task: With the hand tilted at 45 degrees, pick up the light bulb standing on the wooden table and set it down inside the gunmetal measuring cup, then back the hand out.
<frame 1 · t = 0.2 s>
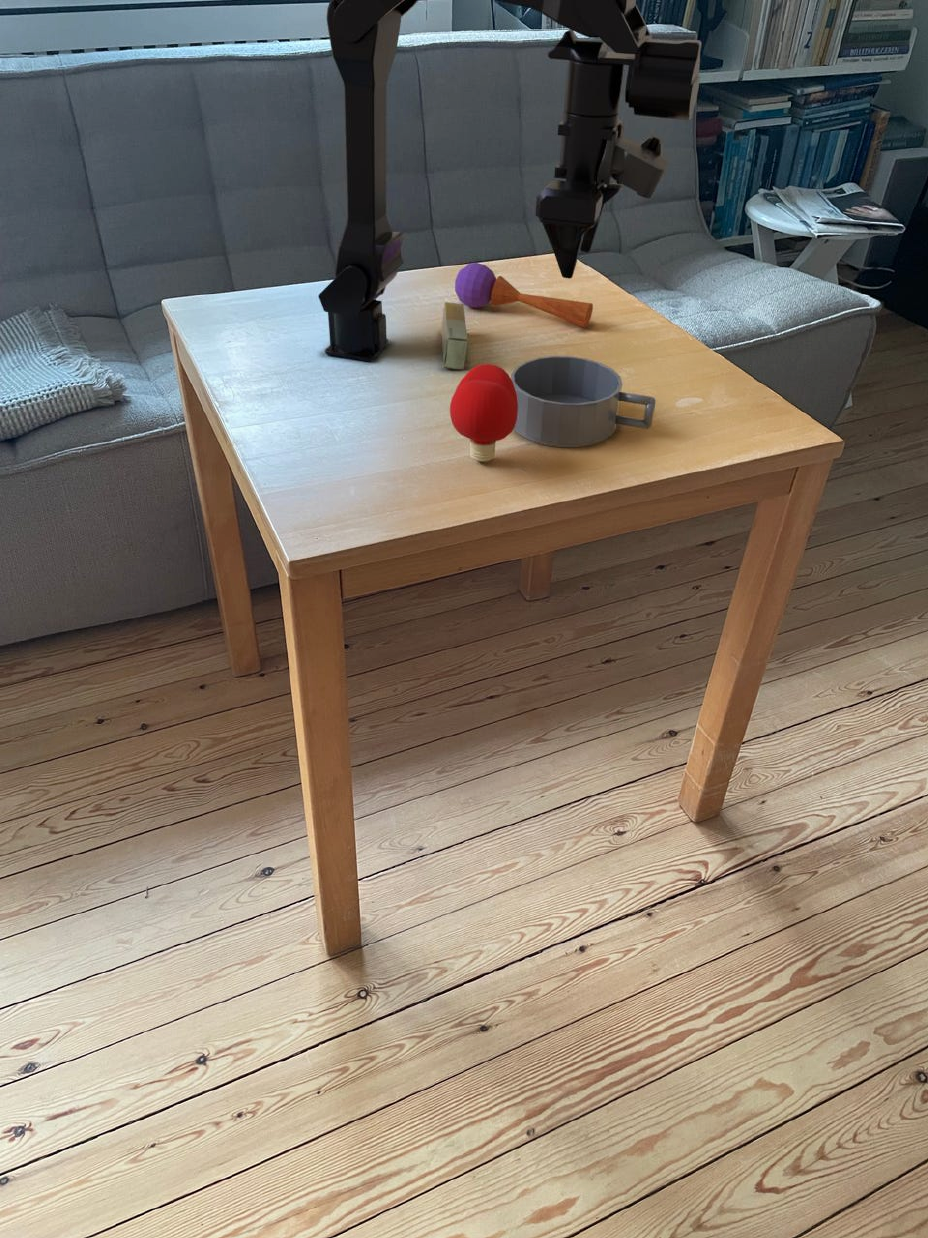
hand: (576, 264, 106), 15 cm above the table, tool pointing down, fingers open, 9 cm apart
light bulb: (482, 463, 100), on the table
medication box: (453, 352, 122), on the table
maraca: (520, 315, 132), on the table
measuring cup: (562, 420, 107), on the table
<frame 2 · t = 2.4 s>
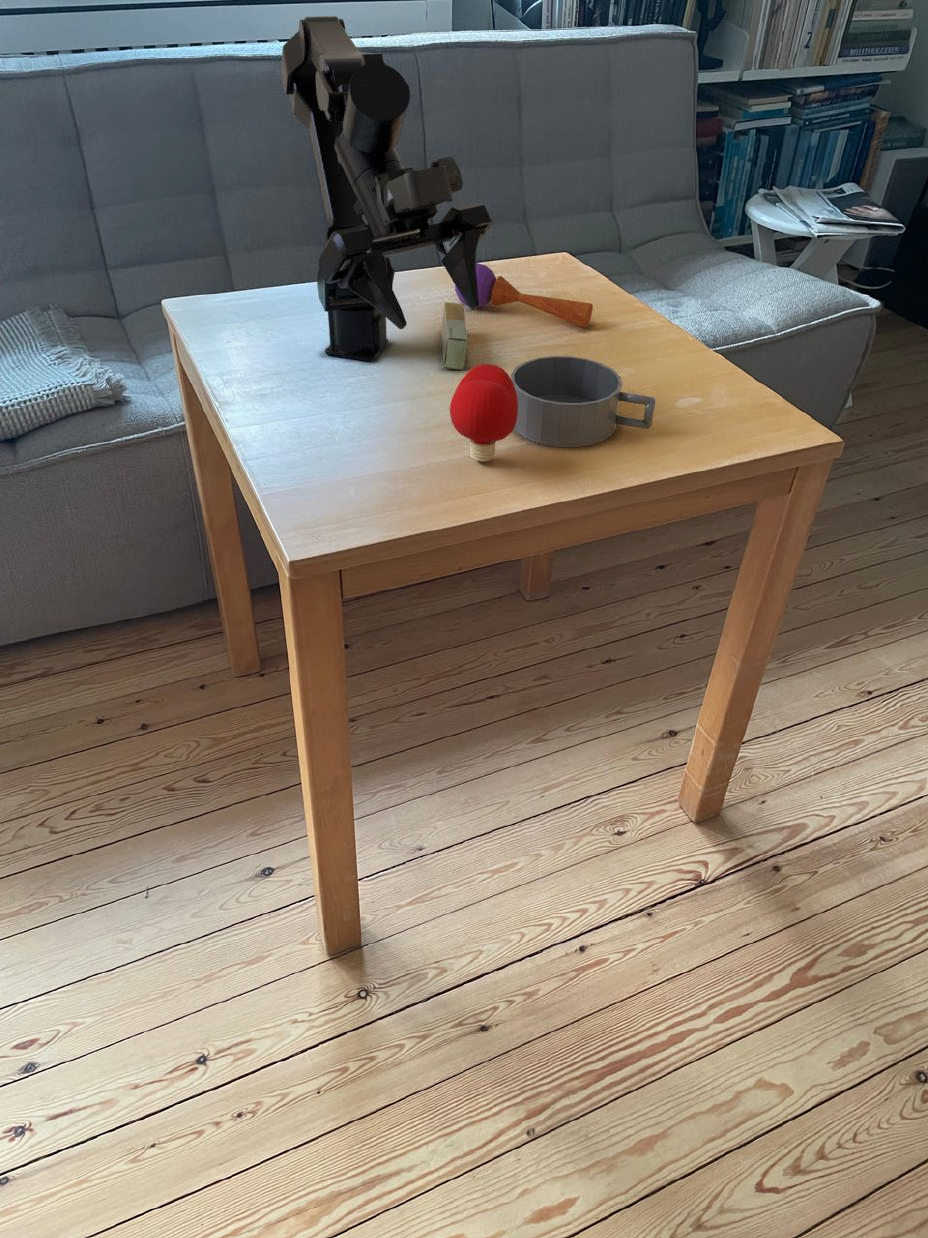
hand: (440, 317, 96), 13 cm above the table, tool tilted 45°, fingers open, 9 cm apart
nothing on the table moved.
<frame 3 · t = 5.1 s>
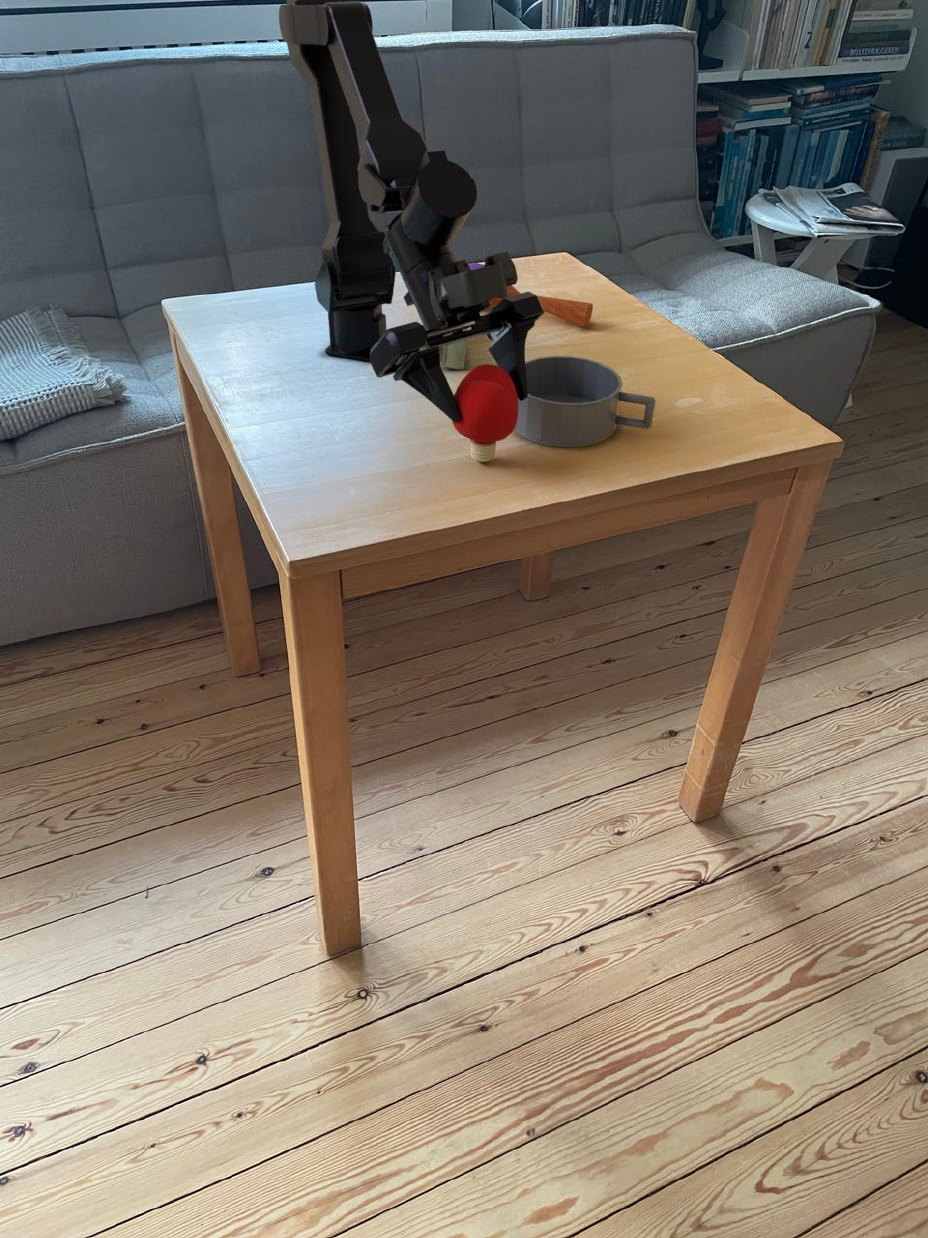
hand: (492, 409, 95), 7 cm above the table, tool tilted 45°, fingers closed on light bulb, 8 cm apart
light bulb: (482, 463, 100), on the table, touching gripper
everything else where it was.
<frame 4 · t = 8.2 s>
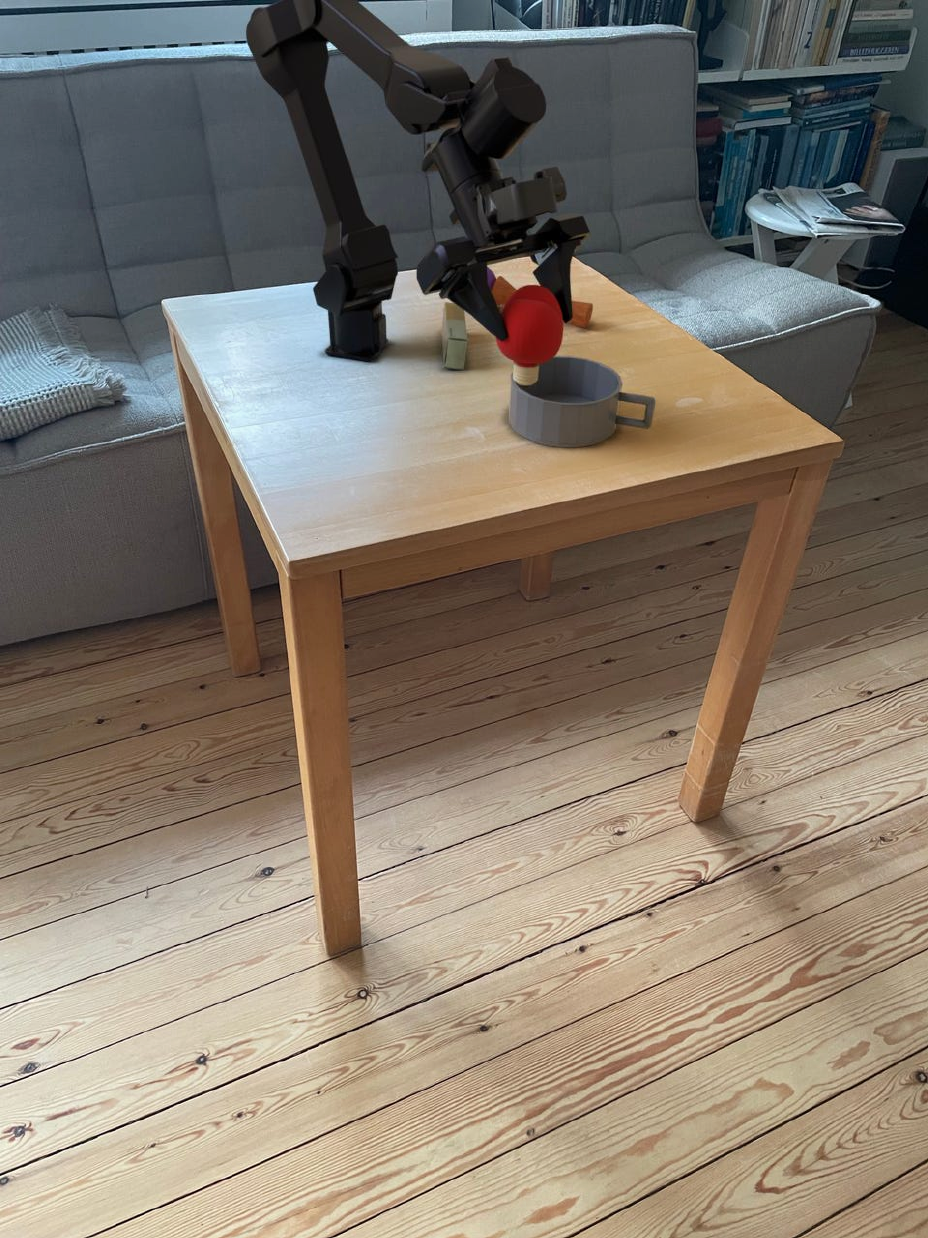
hand: (537, 330, 94), 13 cm above the table, tool tilted 45°, fingers closed on light bulb, 8 cm apart
light bulb: (524, 387, 100), point 6 cm above the table, touching gripper
everything else where it was.
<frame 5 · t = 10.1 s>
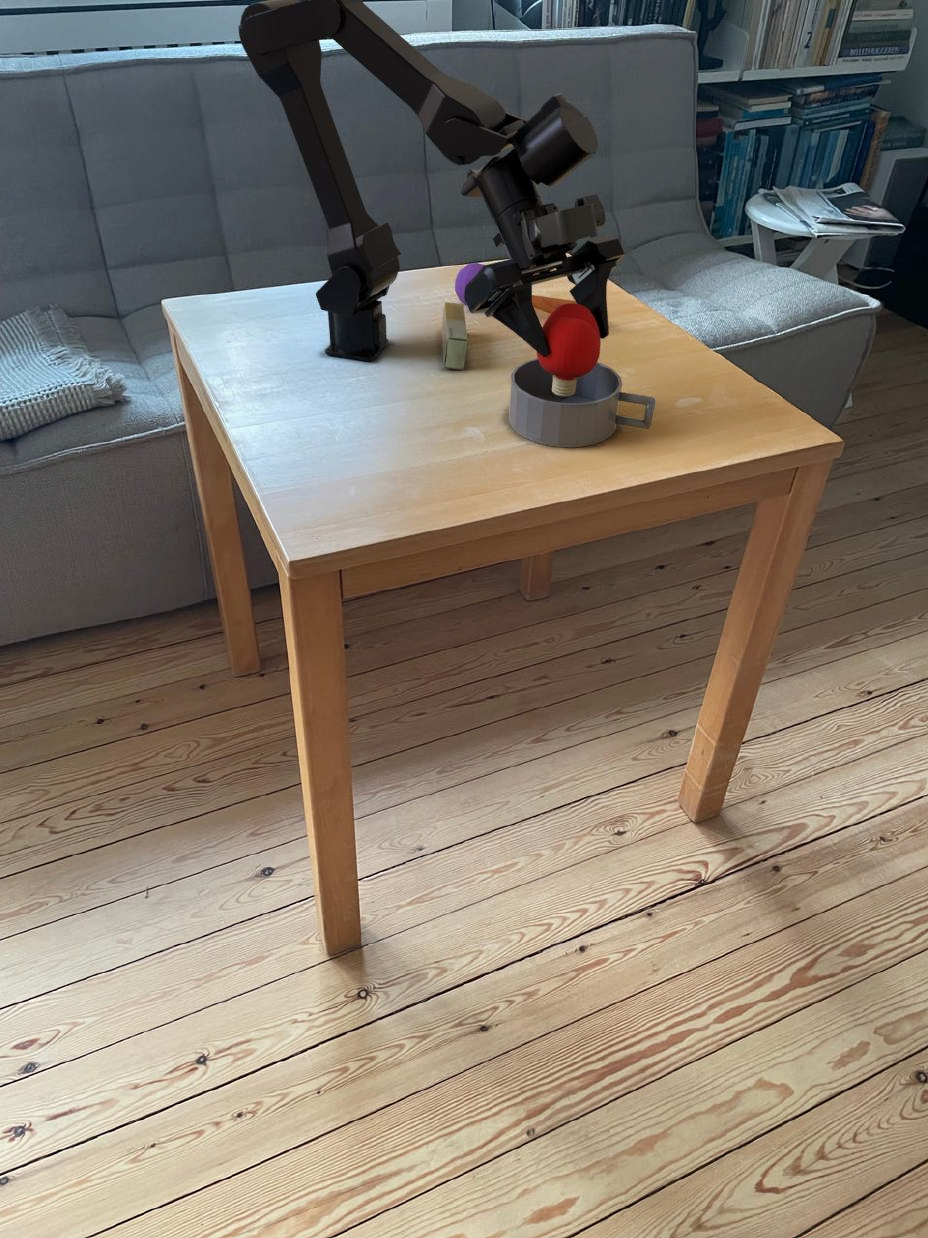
hand: (576, 345, 100), 10 cm above the table, tool tilted 45°, fingers closed on light bulb, 8 cm apart
light bulb: (562, 399, 106), point 3 cm above the table, touching gripper
everything else where it was.
when the fingers open (7 cm above the table, at t = 11.5 s): light bulb stays where it is, resting on measuring cup.
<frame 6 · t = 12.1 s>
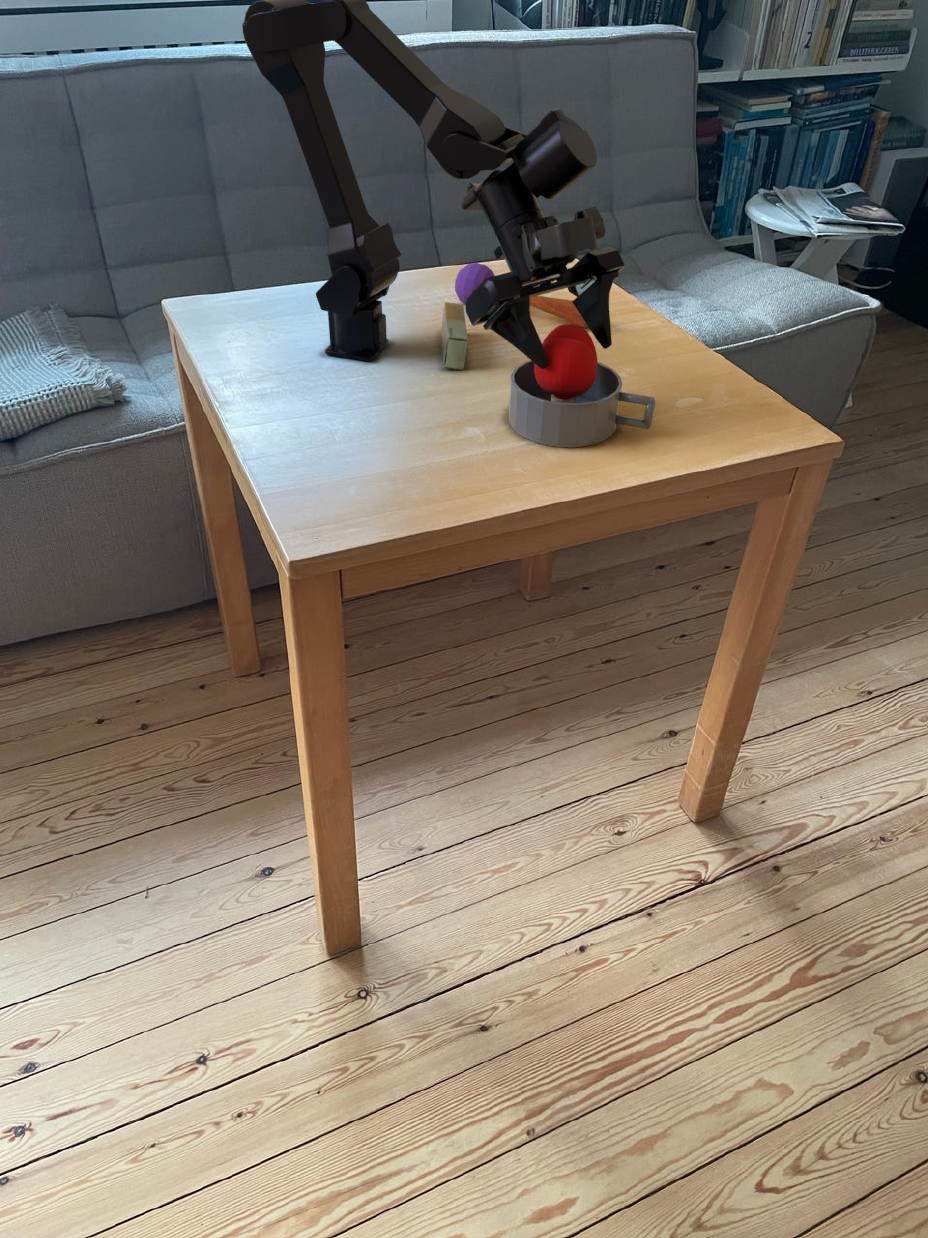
hand: (577, 356, 101), 8 cm above the table, tool tilted 45°, fingers open, 9 cm apart
light bulb: (561, 417, 107), resting on measuring cup
everything else where it was.
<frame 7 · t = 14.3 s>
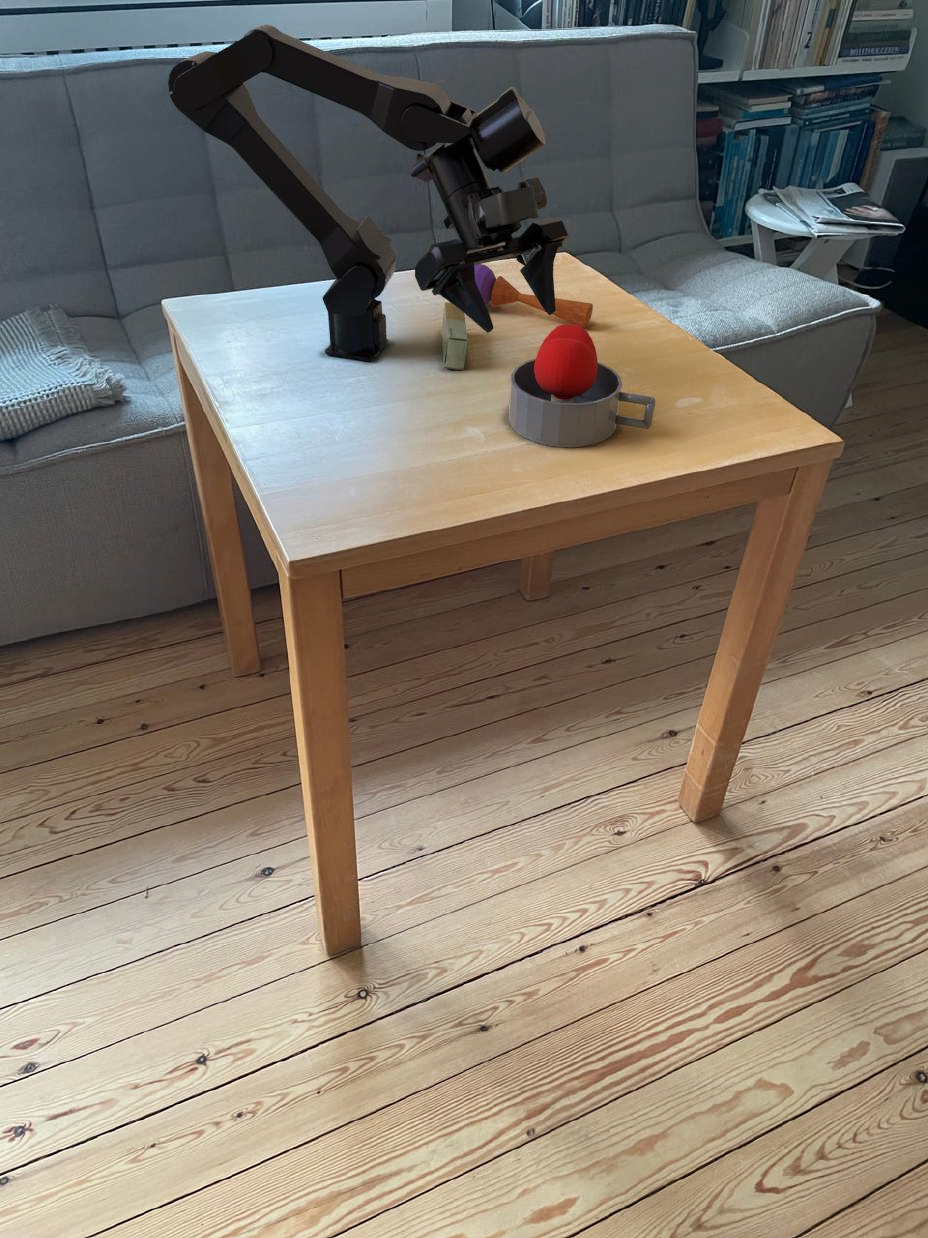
hand: (522, 321, 106), 9 cm above the table, tool tilted 45°, fingers open, 9 cm apart
nothing on the table moved.
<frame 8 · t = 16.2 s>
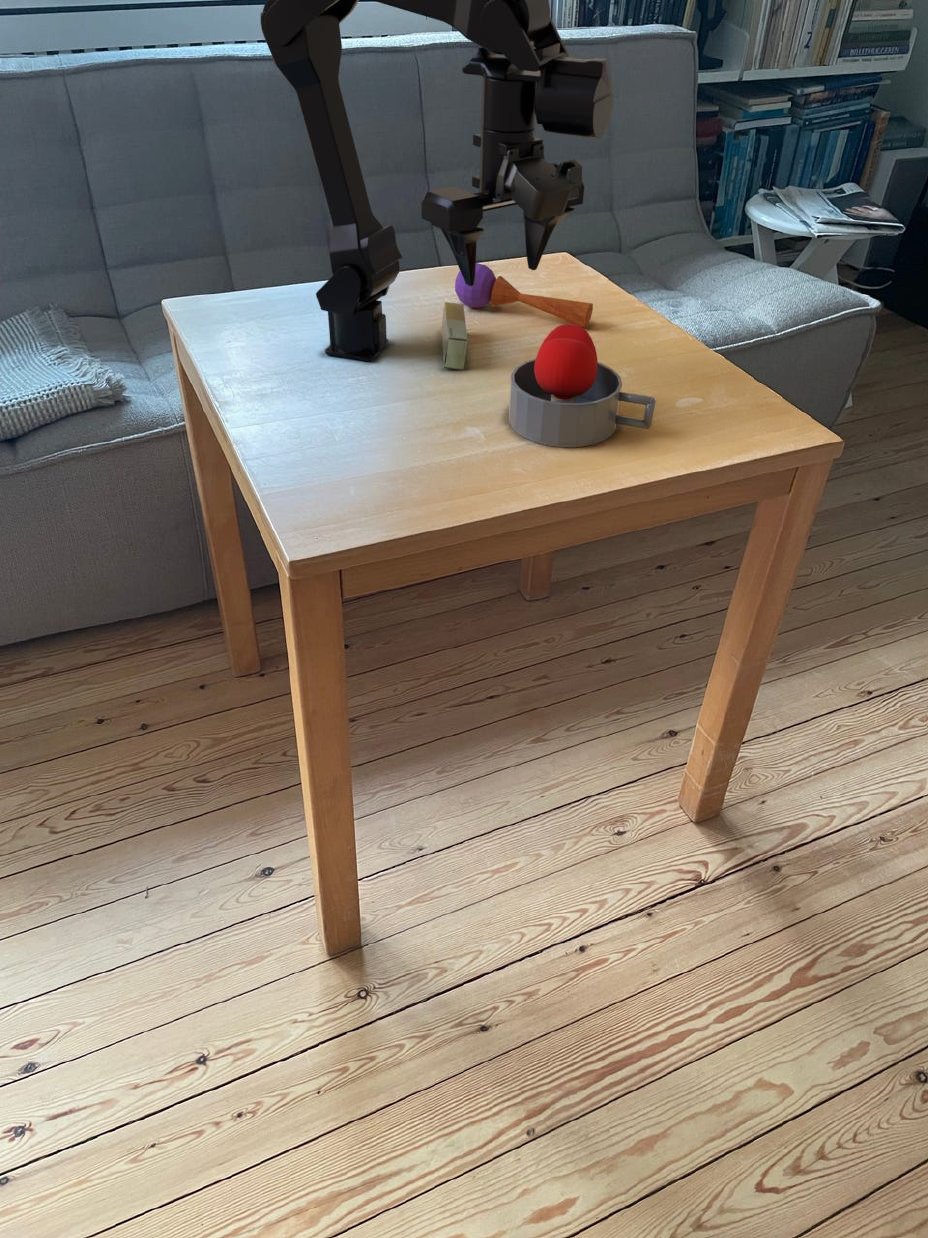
hand: (501, 276, 106), 13 cm above the table, tool pointing down, fingers open, 9 cm apart
nothing on the table moved.
at the end: light bulb inside the target area in the measuring cup (0.2 cm from its centre), point 0.3 cm above the measuring cup's base; the gripper is holding nothing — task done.
